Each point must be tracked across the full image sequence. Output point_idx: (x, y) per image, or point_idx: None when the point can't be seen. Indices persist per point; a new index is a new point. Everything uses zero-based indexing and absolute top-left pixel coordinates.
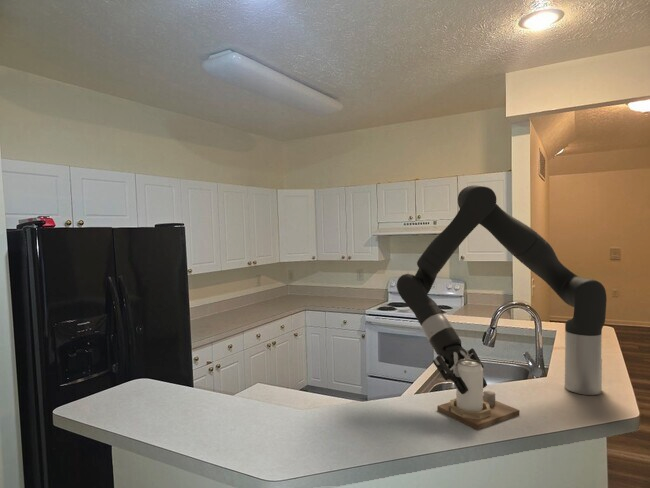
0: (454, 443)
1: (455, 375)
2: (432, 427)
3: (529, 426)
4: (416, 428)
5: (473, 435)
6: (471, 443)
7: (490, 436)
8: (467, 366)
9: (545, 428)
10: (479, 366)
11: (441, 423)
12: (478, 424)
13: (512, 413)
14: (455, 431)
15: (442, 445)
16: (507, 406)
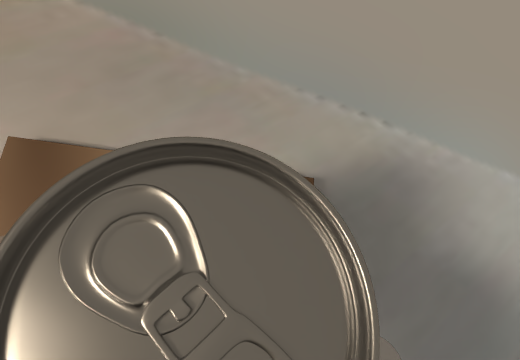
0: (457, 178)
1: (397, 357)
2: (444, 316)
3: (113, 72)
4: (508, 354)
5: (356, 168)
6: (407, 141)
7: (310, 126)
8: (348, 245)
9: (85, 29)
10: (186, 148)
11: (385, 318)
12: (305, 177)
13: (67, 146)
14: (388, 231)
15: (501, 195)
16: (2, 195)
